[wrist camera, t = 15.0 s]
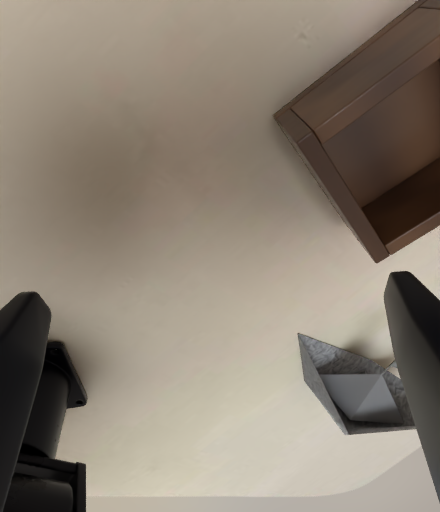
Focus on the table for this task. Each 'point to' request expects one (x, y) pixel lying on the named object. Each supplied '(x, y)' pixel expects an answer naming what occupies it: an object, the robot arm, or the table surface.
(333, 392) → the paper boat
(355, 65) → the box
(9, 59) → the table surface
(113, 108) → the table surface
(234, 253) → the table surface
